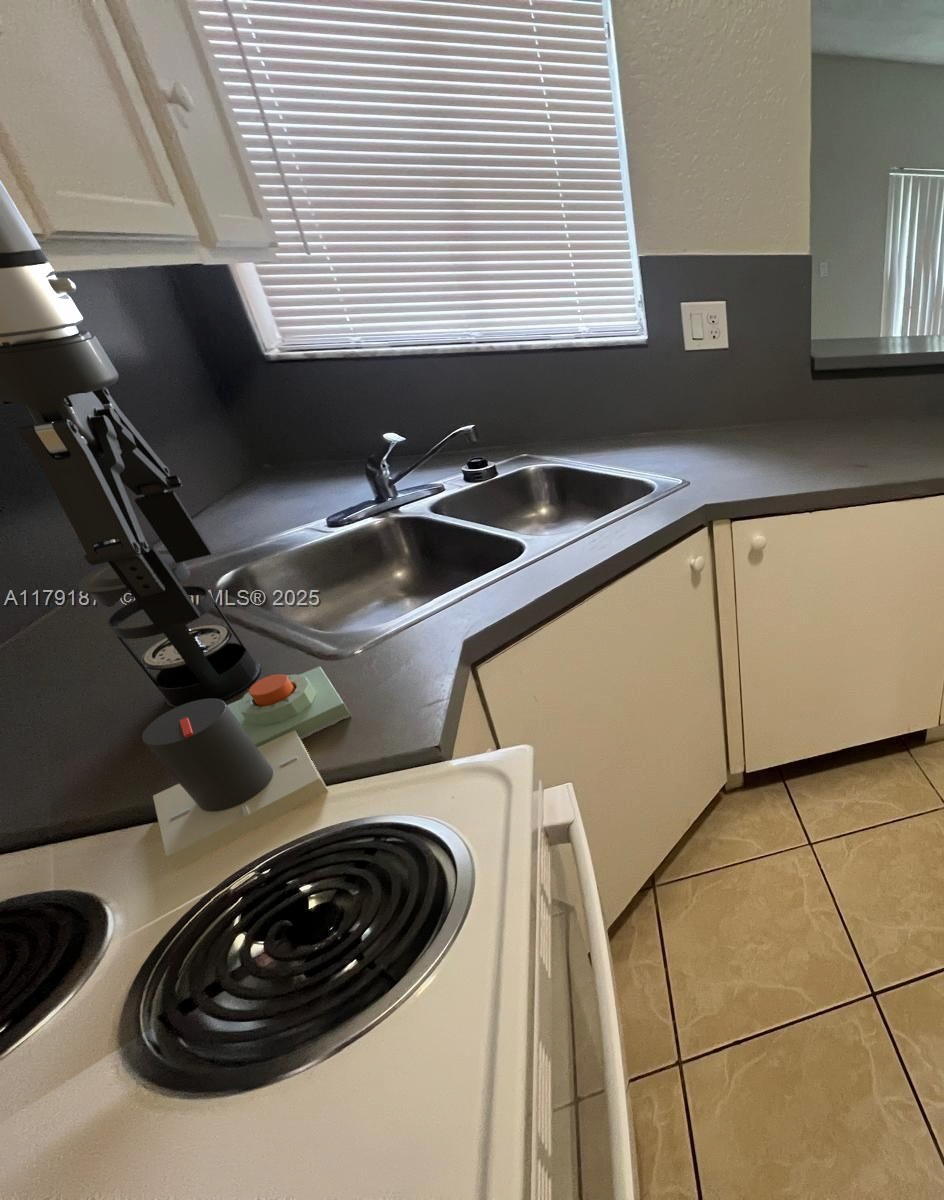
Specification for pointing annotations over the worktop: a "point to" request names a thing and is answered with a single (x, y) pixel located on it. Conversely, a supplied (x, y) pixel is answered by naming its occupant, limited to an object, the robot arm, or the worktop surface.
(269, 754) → the panel
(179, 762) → the oven knob
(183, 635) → the french press
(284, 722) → the button box
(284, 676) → the button
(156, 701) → the worktop surface
